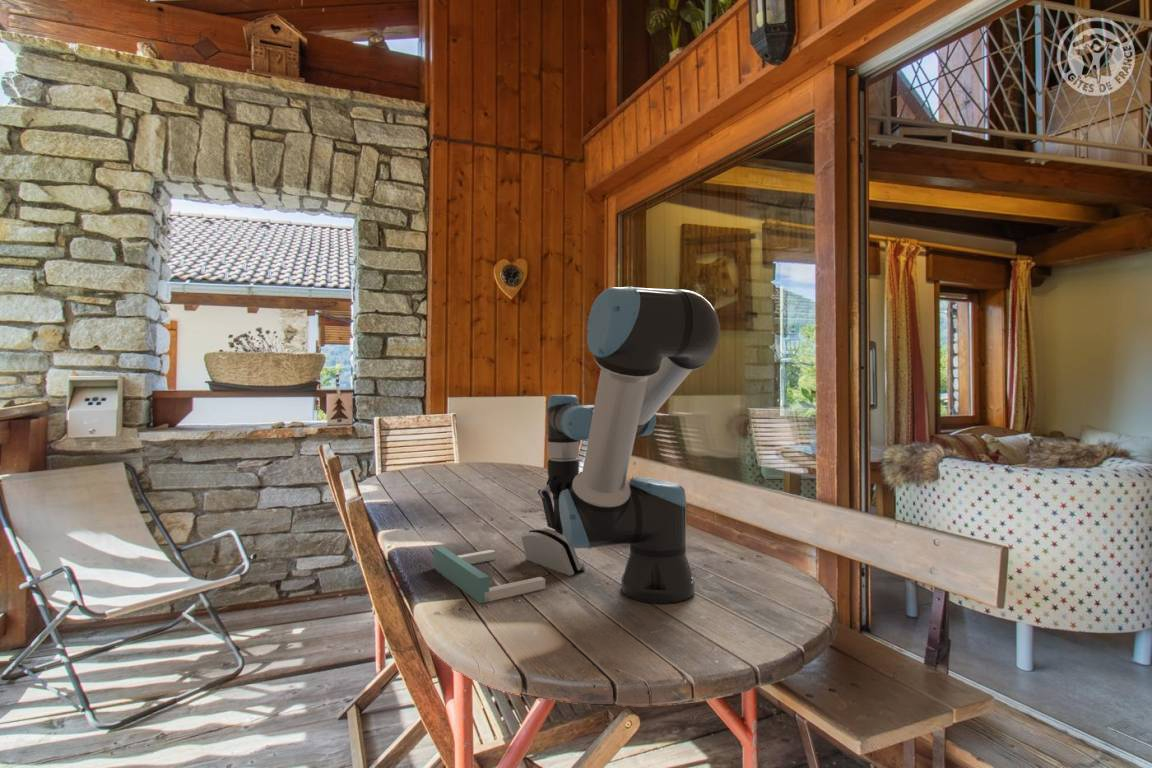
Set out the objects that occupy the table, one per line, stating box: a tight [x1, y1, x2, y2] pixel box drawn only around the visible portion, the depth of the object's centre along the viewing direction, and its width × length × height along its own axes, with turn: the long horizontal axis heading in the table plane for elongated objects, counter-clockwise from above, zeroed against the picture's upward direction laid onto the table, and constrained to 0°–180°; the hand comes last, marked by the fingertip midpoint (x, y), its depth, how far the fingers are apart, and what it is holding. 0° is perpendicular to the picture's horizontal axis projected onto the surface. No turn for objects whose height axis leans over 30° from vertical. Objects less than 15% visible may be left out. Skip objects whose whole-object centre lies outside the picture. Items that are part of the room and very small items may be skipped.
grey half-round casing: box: [521, 527, 587, 577], centre depth 141 cm, size 17×5×10 cm, turn 42°
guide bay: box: [432, 545, 546, 604], centre depth 133 cm, size 26×15×5 cm, turn 33°
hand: (563, 556), depth 144 cm, fingers closed
